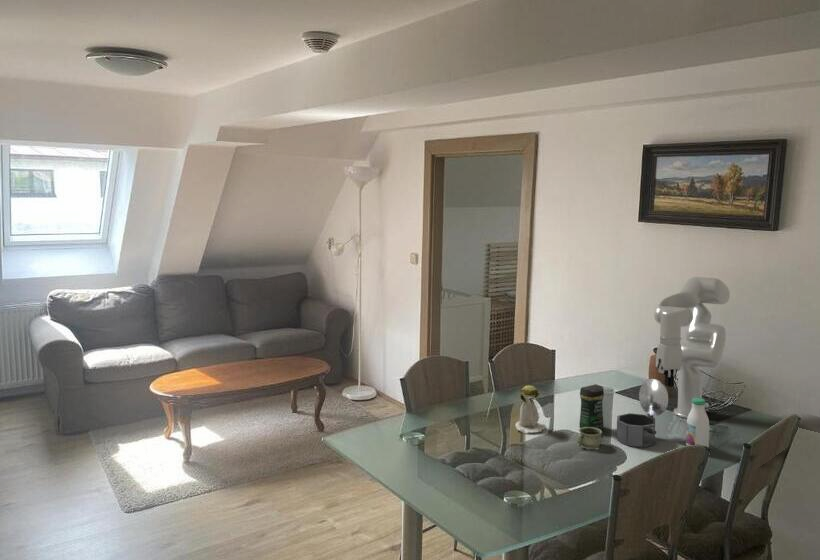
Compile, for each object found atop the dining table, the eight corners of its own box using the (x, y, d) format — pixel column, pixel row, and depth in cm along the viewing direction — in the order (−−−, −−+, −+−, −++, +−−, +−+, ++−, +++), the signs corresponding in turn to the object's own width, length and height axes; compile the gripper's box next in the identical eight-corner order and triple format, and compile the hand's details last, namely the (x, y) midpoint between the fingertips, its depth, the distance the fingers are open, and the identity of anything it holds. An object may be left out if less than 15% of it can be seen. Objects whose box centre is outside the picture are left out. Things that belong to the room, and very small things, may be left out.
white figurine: (511, 432, 260) (511, 389, 257) (519, 421, 271) (519, 381, 269) (540, 435, 255) (539, 392, 252) (547, 425, 266) (547, 383, 264)
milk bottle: (707, 447, 237) (708, 396, 235) (709, 455, 230) (711, 403, 227) (685, 445, 240) (686, 395, 237) (687, 453, 232) (688, 401, 230)
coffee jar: (590, 434, 254) (590, 390, 252) (576, 428, 261) (576, 385, 259) (607, 429, 259) (607, 385, 257) (592, 423, 266) (592, 381, 264)
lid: (636, 410, 254) (640, 410, 255) (663, 421, 241) (667, 421, 242) (641, 375, 253) (645, 375, 254) (669, 384, 240) (672, 384, 241)
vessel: (585, 453, 236) (585, 437, 236) (570, 444, 245) (570, 429, 244) (610, 447, 241) (610, 431, 240) (595, 439, 249) (595, 424, 248)
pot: (634, 428, 258) (634, 409, 257) (670, 445, 240) (670, 424, 239) (604, 435, 253) (605, 415, 252) (640, 452, 235) (640, 431, 234)
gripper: (677, 337, 254) (675, 381, 256) (648, 341, 248) (647, 386, 250) (691, 340, 247) (690, 385, 249) (662, 344, 241) (661, 391, 244)
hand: (669, 385), depth 250 cm, fingers closed
